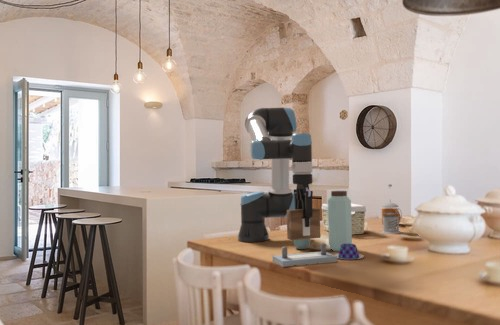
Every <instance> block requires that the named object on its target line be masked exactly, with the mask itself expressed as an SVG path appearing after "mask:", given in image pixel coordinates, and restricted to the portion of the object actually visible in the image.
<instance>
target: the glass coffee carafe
mask: <svg viewBox="0 0 500 325" xmlns="http://www.w3.org/2000/svg"><path fill="white" fill-rule="evenodd" d="M395 210H397V209H396V207H393V208H391V213H397V215H384V213H390V208H388V207H384V208H381V224H382V225H383V216H396V217H397V216H398V218H399V224H400V222H401V220H402V218H401V212H400V211H399V212H398V210H399V209H398V210H397V211H395ZM399 214H400V216H399ZM400 219H401V220H400ZM396 221H397V219H396ZM396 223H397V222H396ZM391 225H392V224H391Z"/></svg>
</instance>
